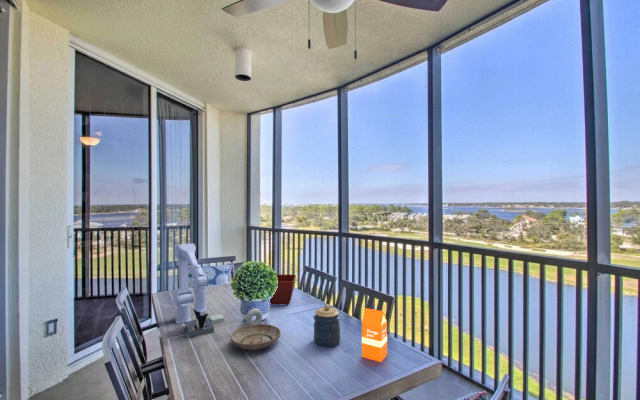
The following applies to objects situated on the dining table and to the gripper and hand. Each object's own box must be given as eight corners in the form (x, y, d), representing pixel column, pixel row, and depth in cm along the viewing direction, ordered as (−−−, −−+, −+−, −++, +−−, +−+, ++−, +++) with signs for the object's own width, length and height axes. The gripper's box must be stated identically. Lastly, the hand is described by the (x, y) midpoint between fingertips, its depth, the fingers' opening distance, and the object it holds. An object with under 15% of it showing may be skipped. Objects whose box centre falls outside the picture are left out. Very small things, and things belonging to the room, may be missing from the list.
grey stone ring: (247, 330, 157) (247, 311, 157) (244, 328, 159) (244, 310, 160) (263, 325, 164) (263, 307, 164) (260, 323, 166) (260, 305, 167)
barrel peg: (195, 330, 157) (196, 317, 157) (203, 329, 159) (203, 315, 159) (197, 333, 154) (197, 319, 154) (205, 331, 156) (205, 318, 156)
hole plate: (185, 326, 163) (185, 321, 163) (208, 322, 169) (208, 317, 169) (189, 337, 149) (189, 332, 149) (214, 332, 155) (214, 327, 155)
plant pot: (293, 307, 194) (293, 281, 195) (263, 307, 195) (264, 281, 195) (295, 298, 213) (295, 274, 214) (269, 298, 214) (269, 274, 214)
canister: (309, 345, 140) (309, 307, 141) (319, 334, 152) (319, 299, 153) (335, 350, 136) (335, 311, 136) (343, 338, 148) (343, 302, 148)
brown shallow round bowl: (288, 336, 150) (288, 326, 150) (265, 359, 128) (265, 347, 128) (248, 330, 158) (248, 321, 158) (220, 350, 135) (220, 339, 136)
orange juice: (381, 362, 125) (380, 314, 125) (361, 356, 130) (361, 310, 130) (387, 354, 132) (387, 308, 132) (368, 349, 136) (368, 305, 137)
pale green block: (209, 319, 172) (209, 316, 172) (221, 317, 176) (221, 314, 176) (211, 323, 166) (211, 320, 166) (224, 321, 170) (224, 317, 170)
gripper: (211, 301, 153) (210, 328, 152) (206, 294, 165) (206, 319, 165) (196, 303, 149) (196, 331, 149) (192, 296, 162) (192, 321, 161)
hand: (200, 325), depth 156 cm, fingers open, 7 cm apart
